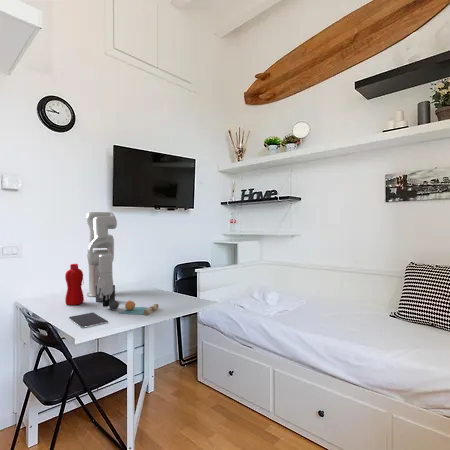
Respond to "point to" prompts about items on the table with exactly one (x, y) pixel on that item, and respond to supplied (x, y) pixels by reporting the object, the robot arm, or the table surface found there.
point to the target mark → (135, 311)
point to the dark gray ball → (113, 304)
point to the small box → (112, 296)
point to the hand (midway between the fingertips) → (106, 306)
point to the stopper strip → (151, 309)
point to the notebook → (87, 319)
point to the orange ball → (130, 305)
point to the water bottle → (74, 285)
